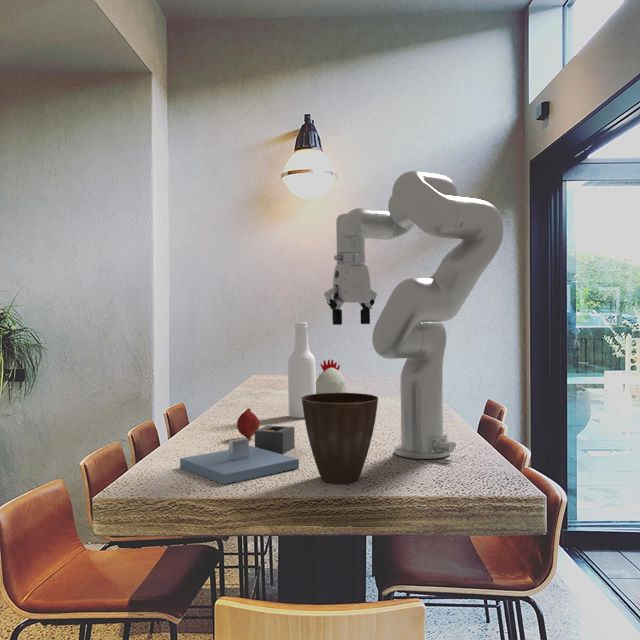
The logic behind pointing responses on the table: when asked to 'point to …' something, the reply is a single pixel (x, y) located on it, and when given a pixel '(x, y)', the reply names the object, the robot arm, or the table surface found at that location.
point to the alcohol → (300, 372)
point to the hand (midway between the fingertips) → (351, 324)
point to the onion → (247, 423)
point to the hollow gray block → (275, 438)
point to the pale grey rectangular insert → (238, 449)
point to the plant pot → (340, 432)
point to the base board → (238, 465)
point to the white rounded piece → (331, 380)
